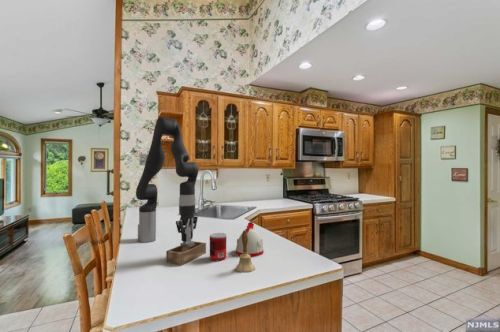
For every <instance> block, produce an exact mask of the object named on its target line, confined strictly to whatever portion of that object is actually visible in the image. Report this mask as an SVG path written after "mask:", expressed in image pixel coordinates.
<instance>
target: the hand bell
mask: <svg viewBox="0 0 500 332" xmlns="http://www.w3.org/2000/svg"><path fill="white" fill-rule="evenodd" d="M242 233H243V234H242ZM242 233H241V234H242V243H243V254H242V255H240V256H239V261H238V263H237V265H236V266H235V271H237V272H239V273H251V272H253V271H255V270H256V267H255V265H254V264H253V262H252V259H251V258H252V257H251V256H250V255H249V254H247V242H248V235H247V232H246V229H244V230H243V231H242Z"/></svg>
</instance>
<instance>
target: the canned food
mask: <svg viewBox="0 0 500 332" xmlns="http://www.w3.org/2000/svg"><path fill="white" fill-rule="evenodd" d="M226 258H227V234H226V233H224V232H214V233H211V234H210V235H209V259H210V260H211V261H214V262H222V261H223V260H226Z"/></svg>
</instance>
